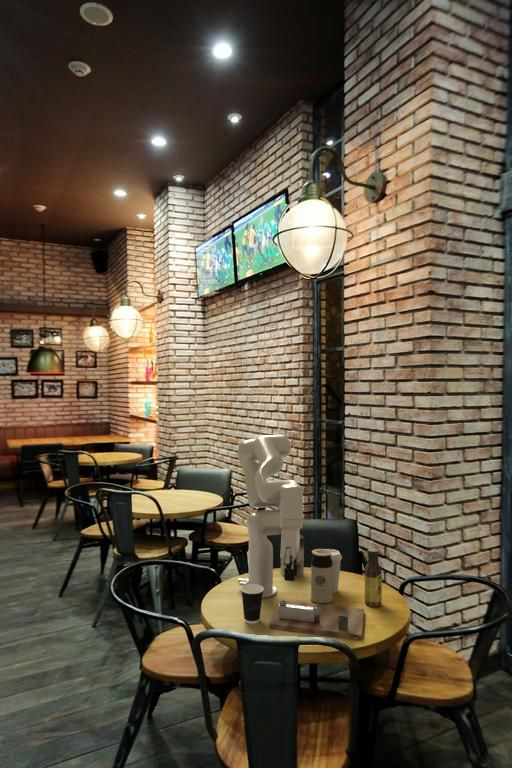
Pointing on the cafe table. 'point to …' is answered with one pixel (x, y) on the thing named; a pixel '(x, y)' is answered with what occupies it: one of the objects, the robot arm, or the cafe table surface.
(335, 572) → the coffee cup
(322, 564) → the travel mug
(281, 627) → the jamb plate
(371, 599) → the sauce bottle
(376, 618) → the cafe table surface
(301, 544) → the coffee box
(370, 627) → the cafe table surface
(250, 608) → the dixie cup
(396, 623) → the cafe table surface
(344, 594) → the cafe table surface
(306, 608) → the bar
